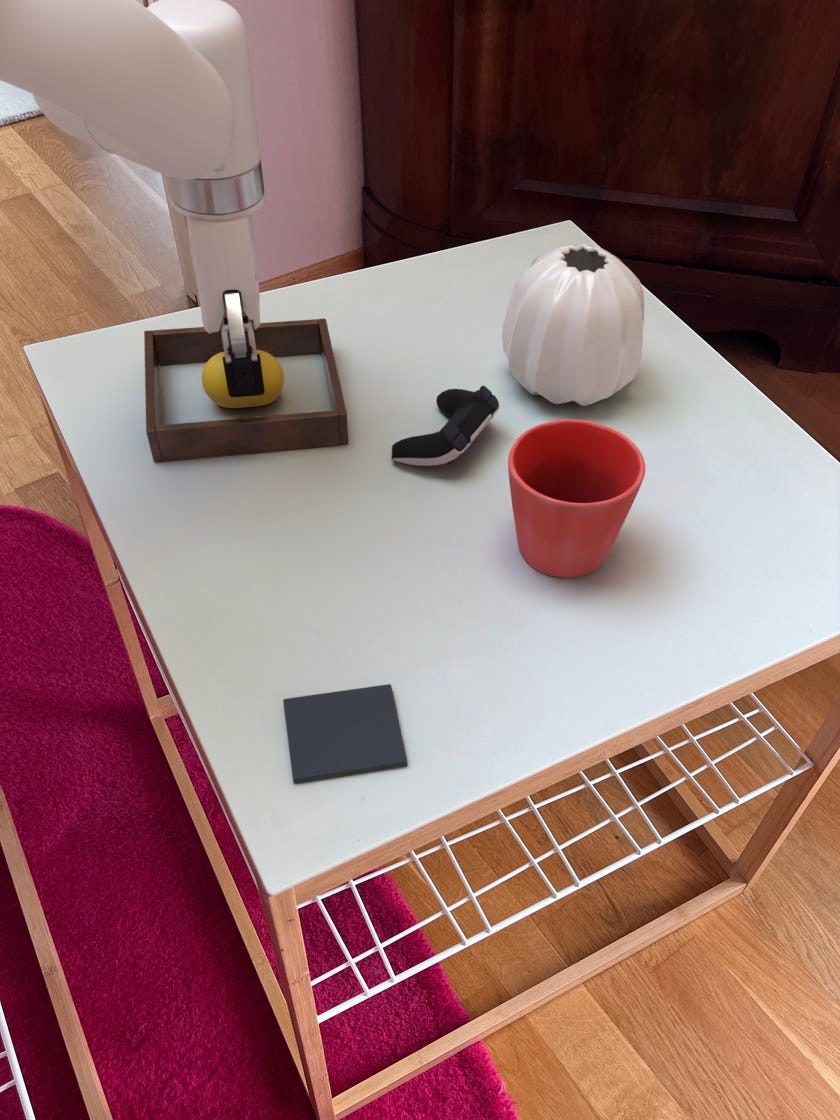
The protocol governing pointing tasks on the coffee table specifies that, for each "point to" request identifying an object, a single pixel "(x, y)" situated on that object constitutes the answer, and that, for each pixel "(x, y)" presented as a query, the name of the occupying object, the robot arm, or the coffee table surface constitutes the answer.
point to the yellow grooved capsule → (219, 394)
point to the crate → (242, 431)
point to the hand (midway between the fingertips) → (243, 362)
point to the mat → (343, 733)
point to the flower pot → (571, 493)
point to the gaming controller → (450, 428)
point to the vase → (575, 325)
